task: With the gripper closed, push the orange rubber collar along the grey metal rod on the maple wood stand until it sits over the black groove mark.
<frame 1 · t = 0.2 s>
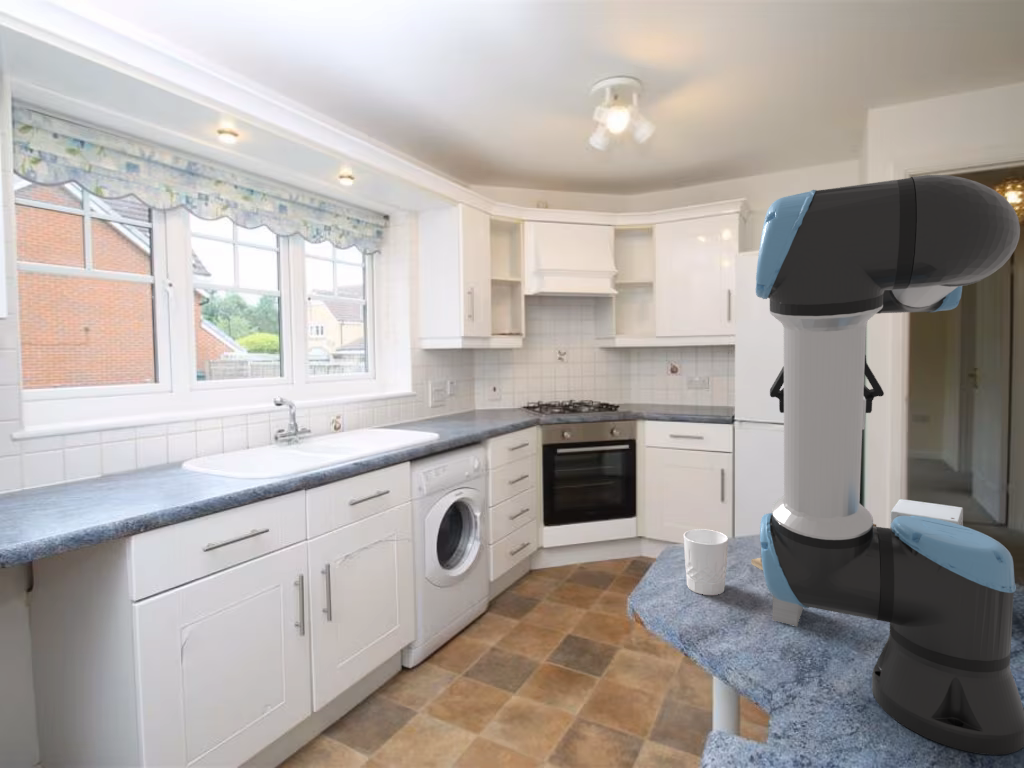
hand: (823, 426, 114), 28 cm above the countertop, tool tilted 20°, fingers open, 13 cm apart
grey upright block: (787, 616, 91), on the countertop
pipe stand: (818, 563, 111), on the countertop
collar: (842, 528, 112), point 6 cm above the countertop, slide at 0.0 cm
white cup: (705, 588, 102), on the countertop
supplement box: (924, 603, 94), on the countertop
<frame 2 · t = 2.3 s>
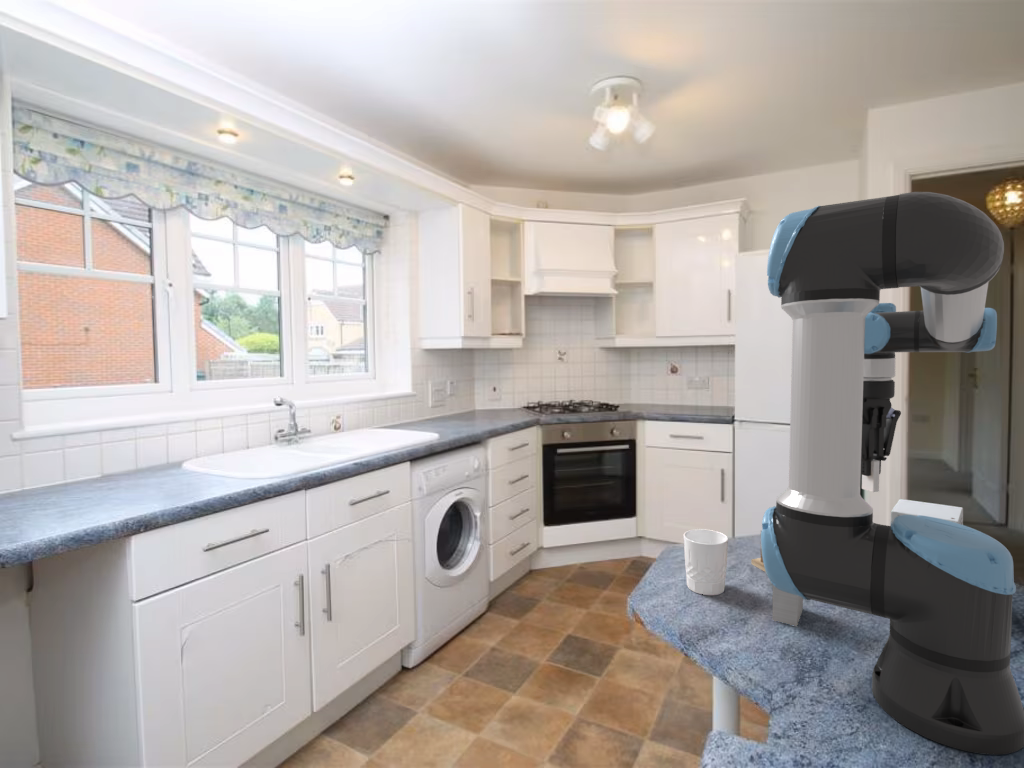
hand: (870, 489, 114), 14 cm above the countertop, tool pointing down, fingers closed
nothing on the countertop moved.
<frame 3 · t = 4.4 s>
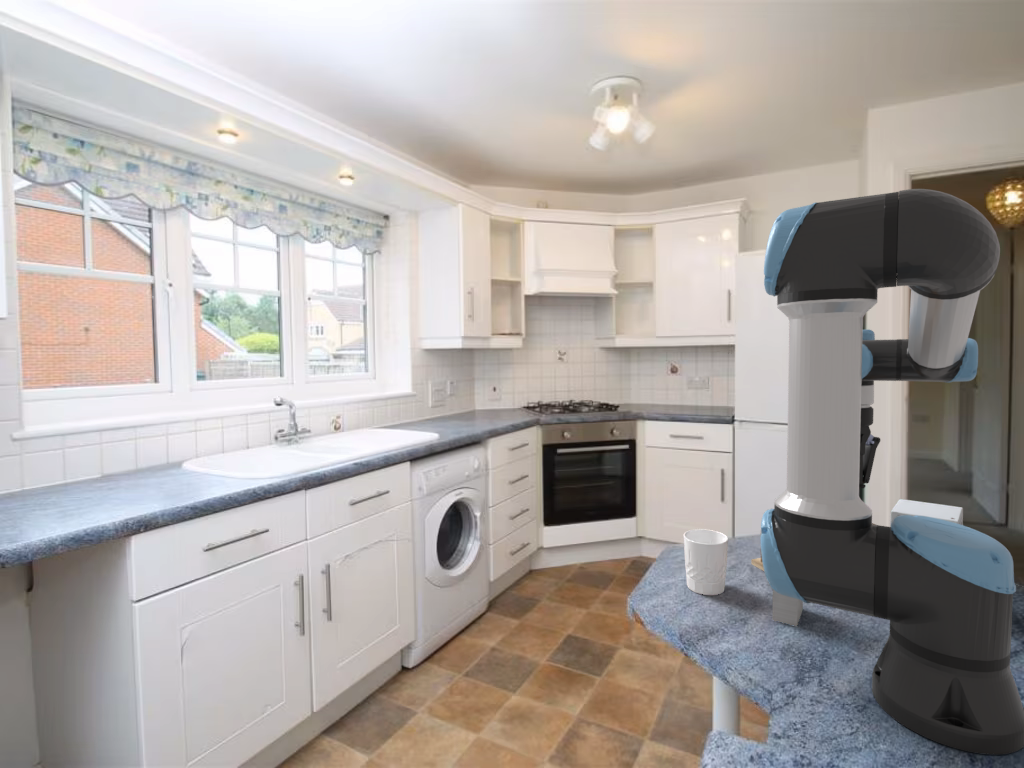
hand: (849, 517, 112), 9 cm above the countertop, tool pointing down, fingers closed
collar: (838, 529, 112), point 6 cm above the countertop, slide at 1.1 cm, touching gripper
everything else where it was.
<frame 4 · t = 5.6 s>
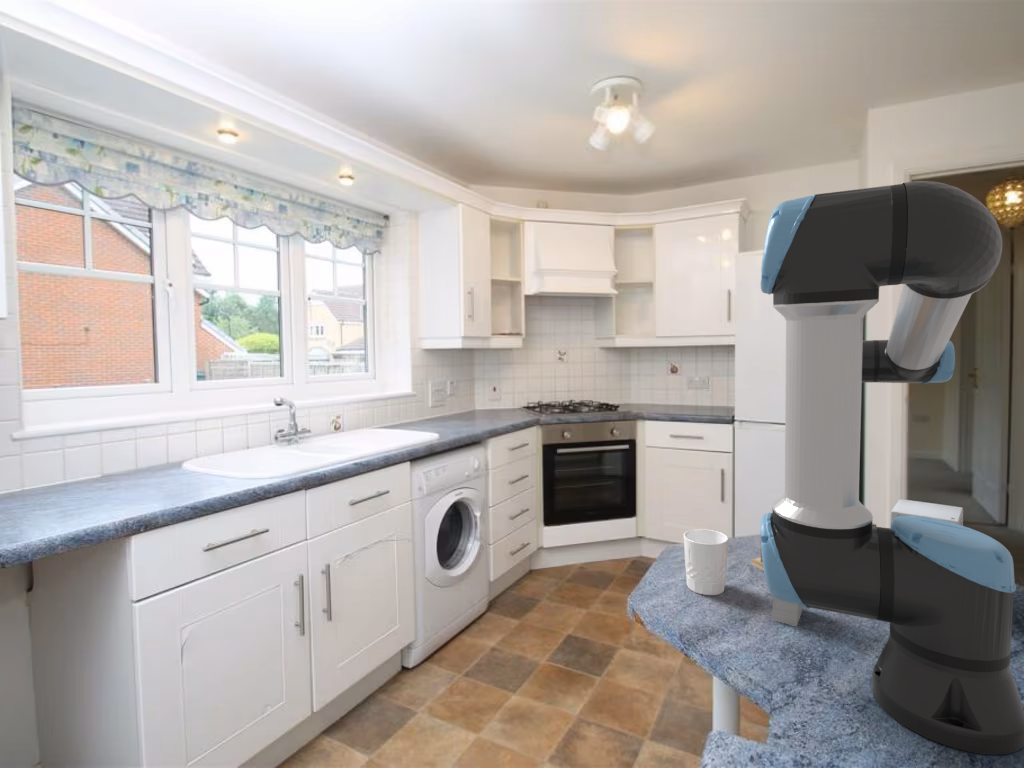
hand: (822, 521, 111), 9 cm above the countertop, tool pointing down, fingers closed
collar: (810, 533, 110), point 6 cm above the countertop, slide at 8.1 cm, touching gripper
everything else where it was.
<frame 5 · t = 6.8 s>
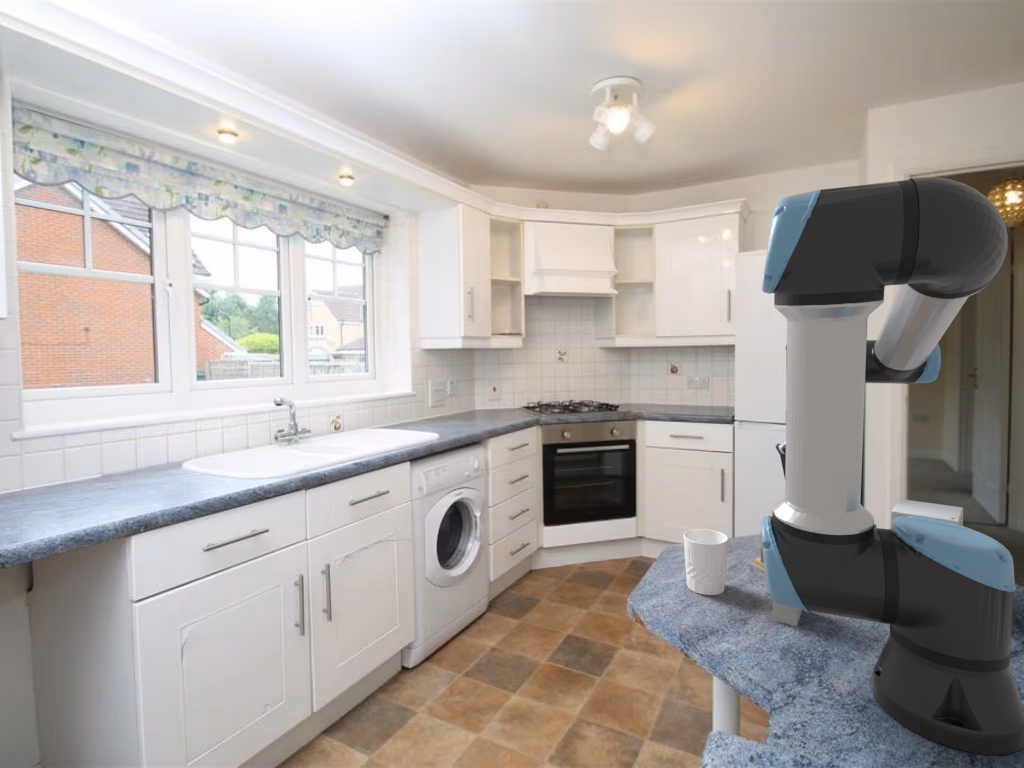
hand: (805, 523, 110), 9 cm above the countertop, tool pointing down, fingers closed
collar: (794, 536, 109), point 7 cm above the countertop, slide at 12.1 cm, touching gripper
everything else where it was.
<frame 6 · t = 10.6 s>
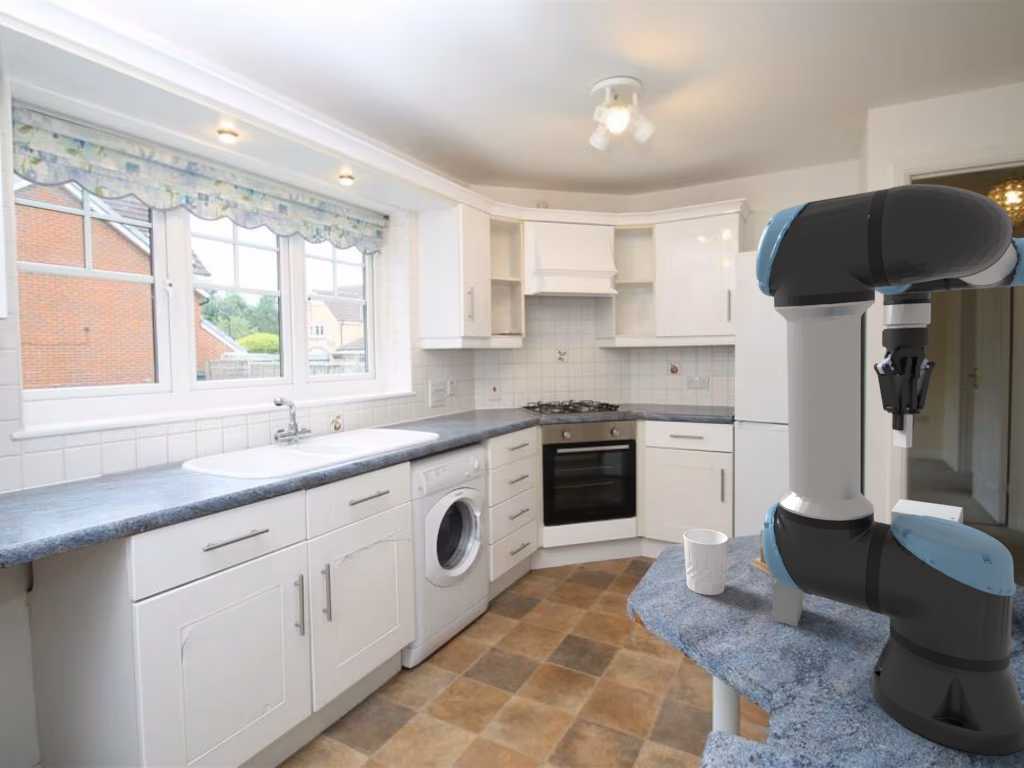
hand: (902, 446, 107), 24 cm above the countertop, tool pointing down, fingers closed
collar: (793, 536, 109), point 6 cm above the countertop, slide at 12.2 cm
everything else where it was.
at the end: collar slide at 12.2 cm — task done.
